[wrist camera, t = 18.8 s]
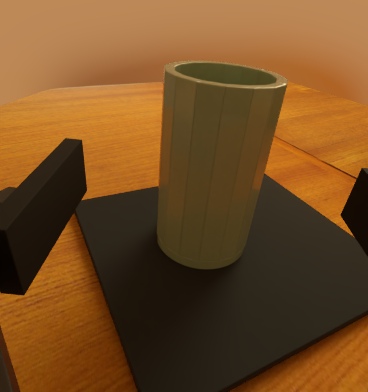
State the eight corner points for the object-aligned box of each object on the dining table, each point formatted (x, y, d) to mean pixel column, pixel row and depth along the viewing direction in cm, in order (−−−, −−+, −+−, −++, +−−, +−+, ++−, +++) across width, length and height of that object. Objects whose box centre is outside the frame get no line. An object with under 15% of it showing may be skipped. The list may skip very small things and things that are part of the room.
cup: (181, 282, 20) (203, 90, 13) (143, 221, 25) (145, 60, 18) (263, 254, 22) (315, 85, 16) (214, 204, 27) (239, 60, 21)
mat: (152, 433, 13) (153, 427, 13) (72, 207, 26) (72, 201, 26) (414, 288, 22) (419, 283, 21) (255, 172, 35) (257, 167, 34)
